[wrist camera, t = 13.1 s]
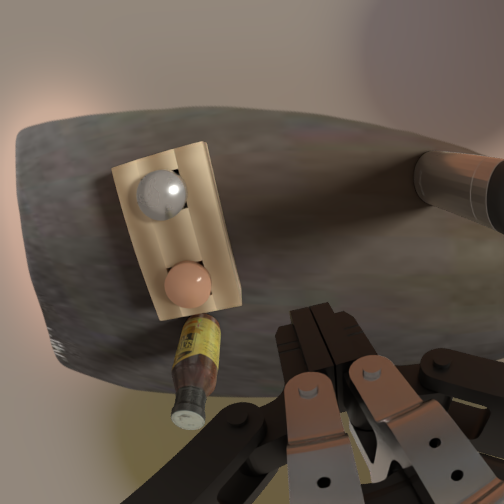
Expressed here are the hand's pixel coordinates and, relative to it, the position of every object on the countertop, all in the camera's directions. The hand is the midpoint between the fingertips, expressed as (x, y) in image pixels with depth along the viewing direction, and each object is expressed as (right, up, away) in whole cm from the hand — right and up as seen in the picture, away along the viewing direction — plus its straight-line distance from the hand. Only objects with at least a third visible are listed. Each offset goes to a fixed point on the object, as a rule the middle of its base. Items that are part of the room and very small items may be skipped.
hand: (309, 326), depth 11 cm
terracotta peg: (-11, +1, +34) cm, 36 cm away
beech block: (-12, +6, +32) cm, 35 cm away
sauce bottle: (-10, -10, +38) cm, 40 cm away
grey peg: (-13, +12, +30) cm, 35 cm away
